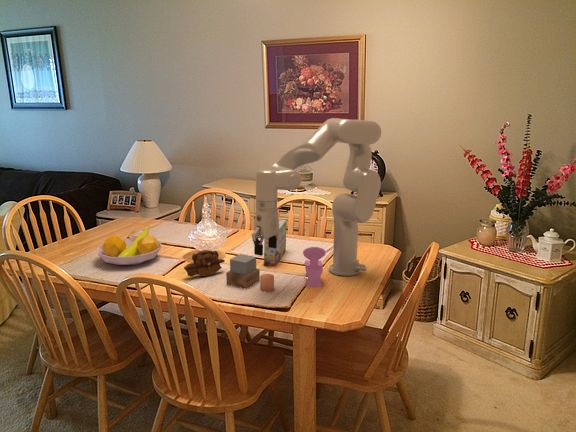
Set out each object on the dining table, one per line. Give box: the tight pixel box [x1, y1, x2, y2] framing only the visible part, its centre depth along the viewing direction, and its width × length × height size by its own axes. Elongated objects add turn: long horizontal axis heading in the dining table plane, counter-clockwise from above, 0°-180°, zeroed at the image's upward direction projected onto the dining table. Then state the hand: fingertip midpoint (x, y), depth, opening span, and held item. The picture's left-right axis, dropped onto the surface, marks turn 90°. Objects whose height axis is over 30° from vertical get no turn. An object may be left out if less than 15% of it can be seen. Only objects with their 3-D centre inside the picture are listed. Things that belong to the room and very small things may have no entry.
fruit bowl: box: [96, 225, 162, 266], centre depth 204 cm, size 28×27×11 cm
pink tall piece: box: [302, 246, 326, 288], centre depth 180 cm, size 8×9×15 cm
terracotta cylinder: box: [259, 273, 275, 293], centre depth 174 cm, size 5×5×5 cm
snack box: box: [263, 219, 288, 267], centre depth 206 cm, size 21×6×15 cm, turn 168°
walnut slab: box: [225, 268, 261, 290], centre depth 180 cm, size 9×9×5 cm
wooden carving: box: [183, 249, 225, 278], centre depth 186 cm, size 16×5×10 cm, turn 126°
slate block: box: [229, 253, 257, 275], centre depth 179 cm, size 7×7×5 cm
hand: (265, 251), depth 171 cm, fingers open, 9 cm apart
